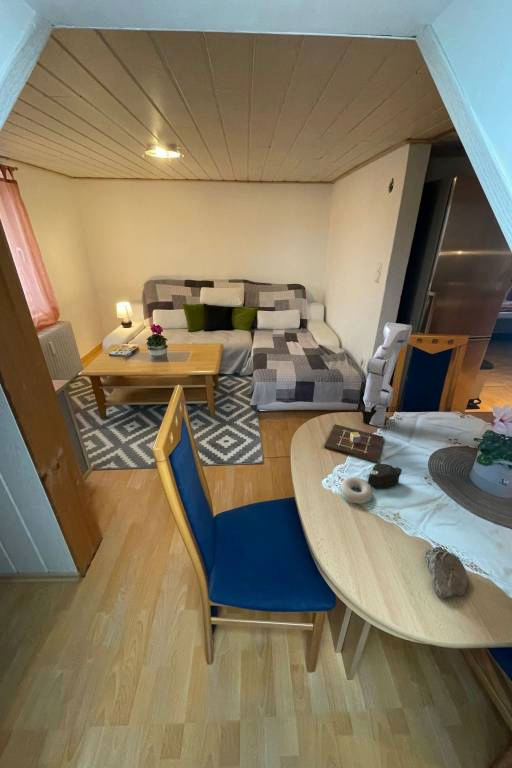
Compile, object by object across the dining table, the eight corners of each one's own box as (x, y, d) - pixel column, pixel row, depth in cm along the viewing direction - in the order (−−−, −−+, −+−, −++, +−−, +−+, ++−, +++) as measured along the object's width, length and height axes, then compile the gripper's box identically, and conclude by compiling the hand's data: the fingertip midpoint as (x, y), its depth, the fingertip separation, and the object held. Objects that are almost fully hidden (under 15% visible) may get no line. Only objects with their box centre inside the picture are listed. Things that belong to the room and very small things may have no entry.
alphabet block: (352, 443, 119) (353, 437, 118) (349, 438, 122) (350, 432, 121) (359, 442, 120) (360, 436, 118) (356, 437, 122) (357, 431, 121)
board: (334, 426, 132) (335, 424, 131) (383, 438, 123) (383, 436, 123) (324, 447, 119) (324, 444, 119) (377, 463, 111) (378, 460, 110)
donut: (343, 479, 104) (336, 499, 96) (344, 471, 103) (338, 491, 95) (373, 488, 100) (369, 510, 92) (375, 480, 99) (371, 502, 91)
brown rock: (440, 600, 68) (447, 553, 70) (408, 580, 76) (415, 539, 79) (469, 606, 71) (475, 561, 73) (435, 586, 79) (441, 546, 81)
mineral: (394, 498, 96) (397, 485, 94) (365, 487, 101) (367, 474, 98) (399, 479, 104) (403, 466, 101) (372, 469, 108) (375, 456, 106)
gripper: (382, 399, 107) (375, 430, 113) (387, 382, 118) (381, 411, 125) (361, 395, 110) (356, 425, 116) (368, 379, 121) (363, 407, 127)
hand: (368, 418), depth 121 cm, fingers open, 7 cm apart
